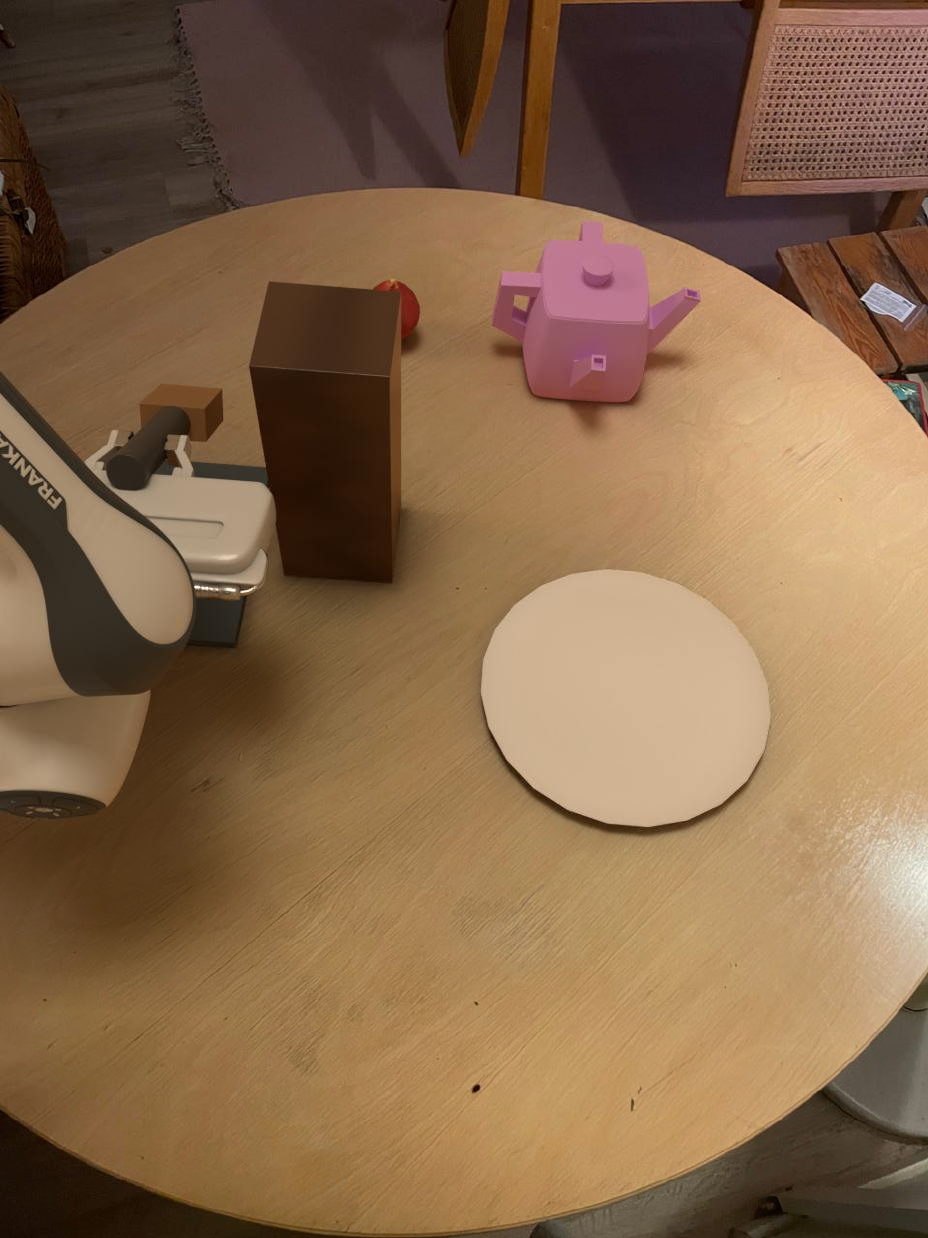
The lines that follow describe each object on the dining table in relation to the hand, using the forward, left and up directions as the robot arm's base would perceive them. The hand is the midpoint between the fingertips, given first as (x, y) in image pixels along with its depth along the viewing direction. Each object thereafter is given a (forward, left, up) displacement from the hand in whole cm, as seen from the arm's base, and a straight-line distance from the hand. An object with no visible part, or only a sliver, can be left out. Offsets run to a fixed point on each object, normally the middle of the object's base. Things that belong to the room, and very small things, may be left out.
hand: (152, 437), depth 78 cm
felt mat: (-1, +4, -19) cm, 20 cm away
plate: (+39, -8, -20) cm, 44 cm away
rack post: (+13, +6, -19) cm, 24 cm away
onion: (+15, +34, -20) cm, 42 cm away
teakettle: (+36, +33, -20) cm, 52 cm away
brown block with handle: (0, +1, -3) cm, 3 cm away
